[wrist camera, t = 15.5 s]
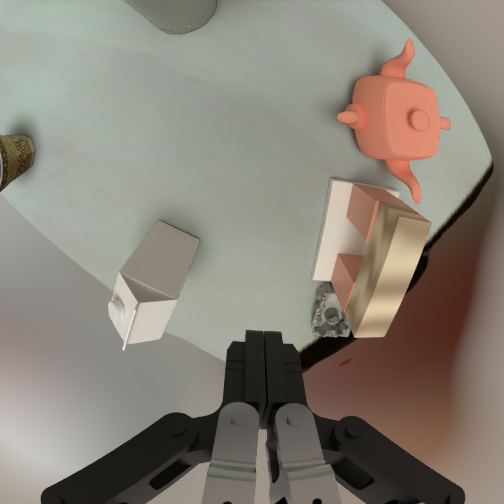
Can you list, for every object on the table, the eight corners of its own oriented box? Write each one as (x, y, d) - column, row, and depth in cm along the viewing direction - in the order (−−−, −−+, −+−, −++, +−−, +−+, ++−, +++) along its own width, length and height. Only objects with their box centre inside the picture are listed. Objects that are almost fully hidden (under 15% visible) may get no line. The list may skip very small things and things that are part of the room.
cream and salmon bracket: (330, 178, 37) (352, 197, 28) (395, 189, 37) (428, 210, 29) (311, 274, 44) (323, 312, 36) (370, 278, 44) (391, 312, 36)
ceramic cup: (32, 116, 30) (-8, 123, 21) (48, 164, 34) (9, 180, 26) (-3, 151, 32) (-37, 164, 23) (12, 194, 36) (-22, 213, 27)
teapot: (382, 183, 37) (420, 207, 27) (313, 117, 33) (337, 117, 23) (434, 120, 31) (480, 129, 22) (373, 51, 27) (412, 35, 18)
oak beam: (379, 200, 28) (399, 216, 24) (409, 207, 29) (431, 223, 24) (344, 312, 36) (354, 337, 31) (372, 312, 36) (384, 336, 32)
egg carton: (317, 279, 45) (322, 293, 41) (357, 280, 45) (365, 293, 41) (306, 326, 50) (310, 341, 46) (343, 325, 50) (349, 340, 46)
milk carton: (200, 239, 41) (169, 325, 24) (184, 273, 44) (152, 363, 27) (158, 219, 40) (102, 293, 23) (145, 255, 42) (95, 337, 26)
